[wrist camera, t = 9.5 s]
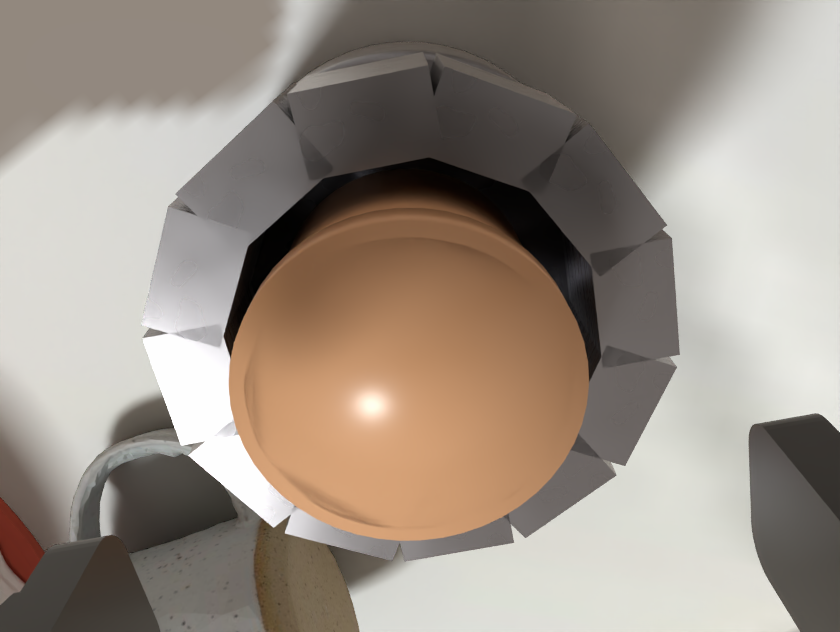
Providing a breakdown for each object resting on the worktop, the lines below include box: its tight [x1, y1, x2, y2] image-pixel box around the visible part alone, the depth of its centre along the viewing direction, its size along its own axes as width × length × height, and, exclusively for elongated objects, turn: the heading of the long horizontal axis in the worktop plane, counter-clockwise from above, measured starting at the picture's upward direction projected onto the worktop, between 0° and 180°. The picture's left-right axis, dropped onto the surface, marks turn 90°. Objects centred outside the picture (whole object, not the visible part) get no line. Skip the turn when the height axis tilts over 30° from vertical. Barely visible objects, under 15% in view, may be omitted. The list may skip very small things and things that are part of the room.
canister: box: [141, 42, 680, 561], centre depth 19 cm, size 10×10×9 cm
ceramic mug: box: [69, 428, 359, 632], centre depth 24 cm, size 11×8×8 cm
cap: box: [228, 169, 589, 541], centre depth 15 cm, size 6×6×5 cm
